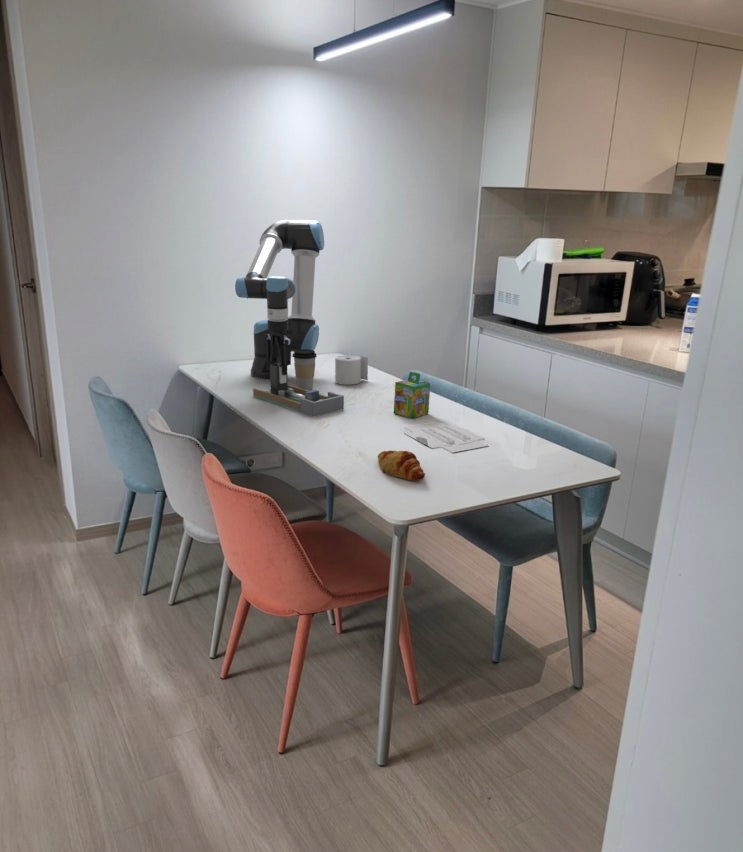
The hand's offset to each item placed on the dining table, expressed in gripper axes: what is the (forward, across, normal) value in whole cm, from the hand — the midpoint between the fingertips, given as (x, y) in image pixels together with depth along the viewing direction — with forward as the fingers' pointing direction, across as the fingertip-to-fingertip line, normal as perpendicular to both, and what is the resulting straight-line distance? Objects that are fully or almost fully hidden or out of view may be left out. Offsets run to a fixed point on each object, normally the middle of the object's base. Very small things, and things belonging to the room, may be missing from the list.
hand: (278, 381), depth 267 cm
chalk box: (+6, +48, +21) cm, 53 cm away
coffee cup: (+6, -3, +15) cm, 16 cm away
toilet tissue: (+6, 0, +36) cm, 37 cm away
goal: (+6, +24, 0) cm, 25 cm away
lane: (+6, +7, 0) cm, 9 cm away
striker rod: (+4, +9, 0) cm, 10 cm away
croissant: (+6, +83, -22) cm, 86 cm away
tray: (+7, +72, +10) cm, 73 cm away
